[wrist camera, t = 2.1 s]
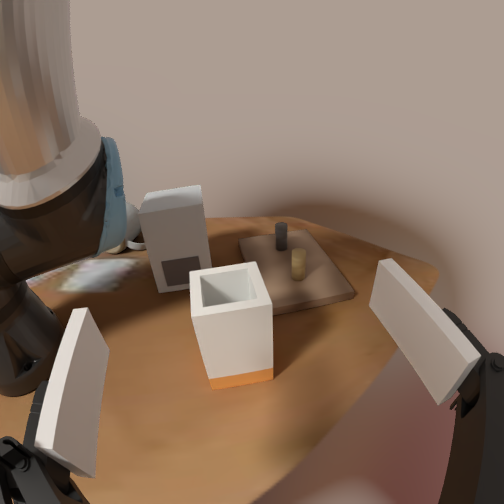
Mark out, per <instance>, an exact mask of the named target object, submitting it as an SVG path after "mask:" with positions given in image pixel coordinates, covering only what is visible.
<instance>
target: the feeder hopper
mask: <svg viewBox="0 0 504 504" xmlns="http://www.w3.org/2000/svg"><path fill="white" fill-rule="evenodd" d="M138 217H139V221H140V225H141V229H142V233H143V237H144V241H145V245H146V249H147V253H148V257H149V260H150V264H151V268H152V271H153V275H154V278H155V282H156V285H157V288H158V292H159V293H163V292H170V291H177V290H184V289H190V274H189V272H190V271H196V270H203V269H209V268H212V263H211V256H210V250H209V243H208V236H207V229H206V222H205V216H204V208H203V201H202V193H201V185H194V186H187V187H181V188H174V189H168V190H162V191H157V192H151V193H147V194H146V196H145V198H144V201H143V203H142V206H141V208H140V210H139V213H138Z"/></svg>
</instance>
